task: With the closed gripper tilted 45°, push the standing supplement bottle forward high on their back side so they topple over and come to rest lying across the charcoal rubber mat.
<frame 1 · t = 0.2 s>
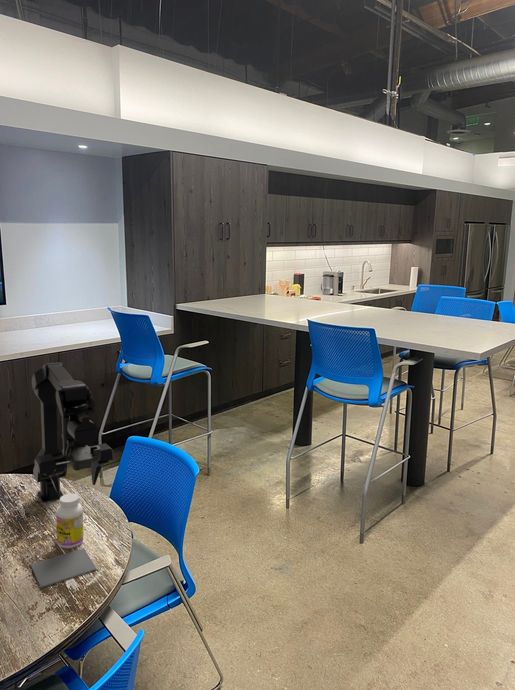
hand: (76, 488, 138), 15 cm above the table, tool pointing down, fingers open, 9 cm apart
supplement bottle: (70, 542, 140), on the table
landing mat: (63, 567, 129), on the table
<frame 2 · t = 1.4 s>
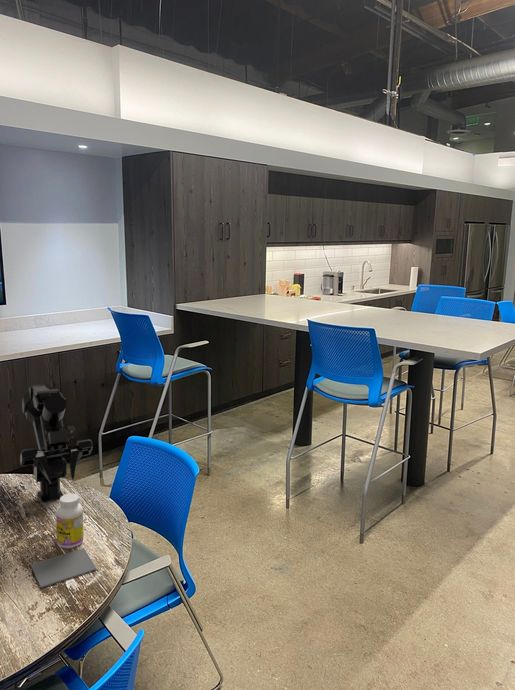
hand: (62, 481, 144), 14 cm above the table, tool tilted 45°, fingers open, 5 cm apart
nothing on the table moved.
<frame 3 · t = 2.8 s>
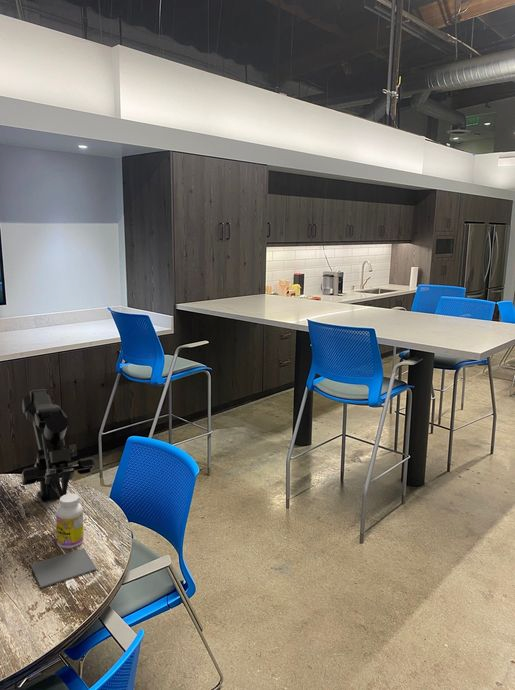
hand: (63, 500, 144), 9 cm above the table, tool tilted 45°, fingers closed
nothing on the table moved.
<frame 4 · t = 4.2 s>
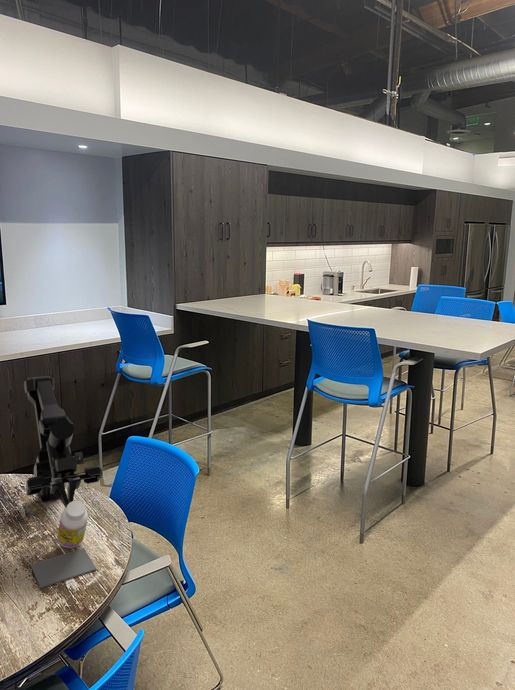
hand: (70, 510, 137), 9 cm above the table, tool tilted 45°, fingers closed
supplement bottle: (70, 538, 139), point 1 cm above the table, touching gripper
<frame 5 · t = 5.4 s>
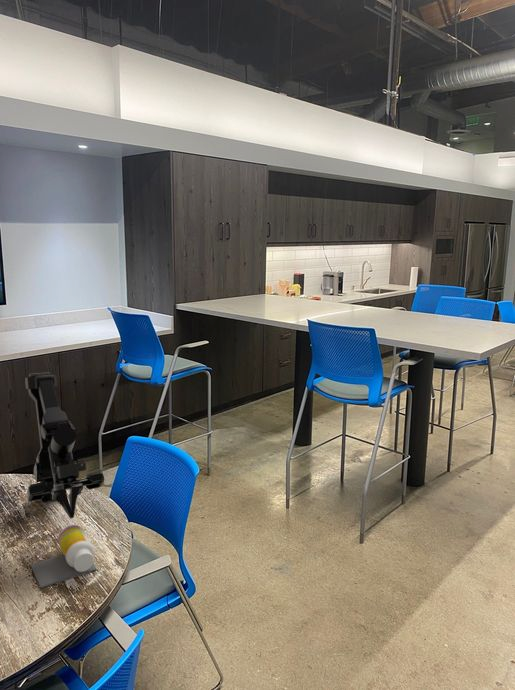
hand: (72, 517, 135), 9 cm above the table, tool tilted 45°, fingers closed
supplement bottle: (70, 535, 136), point 4 cm above the table, touching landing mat
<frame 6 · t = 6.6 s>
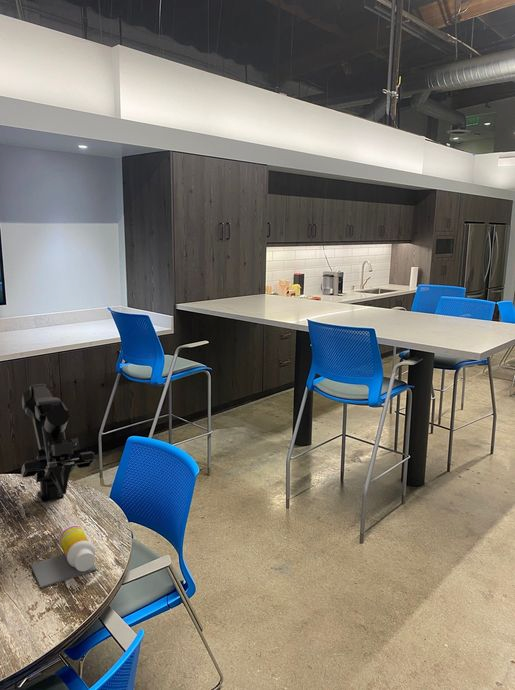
hand: (64, 493, 143), 11 cm above the table, tool tilted 45°, fingers closed
nothing on the table moved.
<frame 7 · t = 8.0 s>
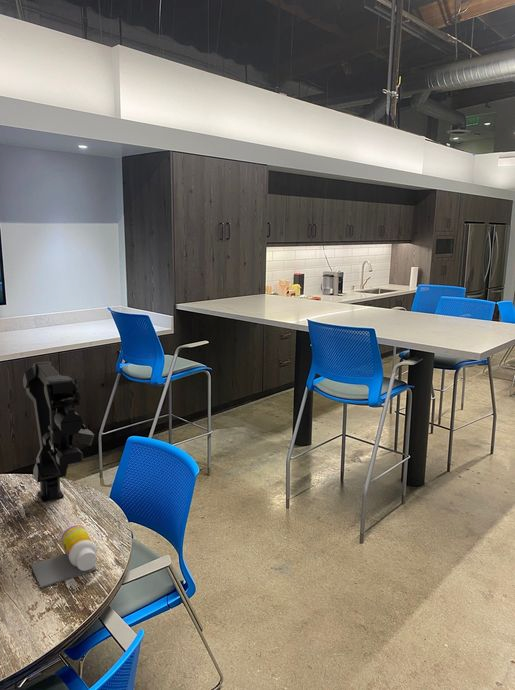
hand: (63, 475, 148), 13 cm above the table, tool pointing down, fingers closed
nothing on the table moved.
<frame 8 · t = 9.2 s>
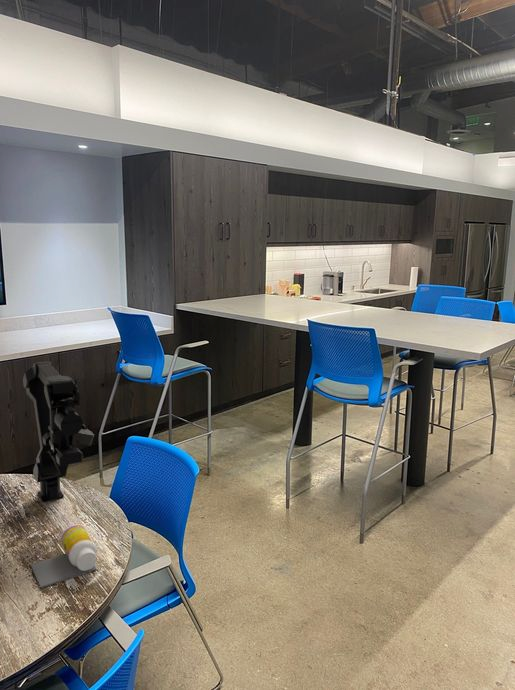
hand: (63, 475, 148), 13 cm above the table, tool pointing down, fingers closed
nothing on the table moved.
at the end: supplement bottle tilted 89°; supplement bottle touching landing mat; supplement bottle inside the target area (5.3 cm from its centre), point 3.6 cm above the table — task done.
